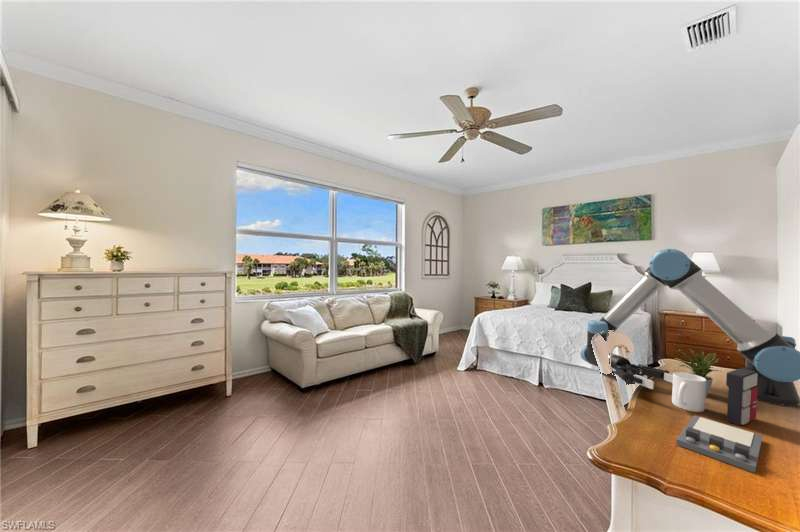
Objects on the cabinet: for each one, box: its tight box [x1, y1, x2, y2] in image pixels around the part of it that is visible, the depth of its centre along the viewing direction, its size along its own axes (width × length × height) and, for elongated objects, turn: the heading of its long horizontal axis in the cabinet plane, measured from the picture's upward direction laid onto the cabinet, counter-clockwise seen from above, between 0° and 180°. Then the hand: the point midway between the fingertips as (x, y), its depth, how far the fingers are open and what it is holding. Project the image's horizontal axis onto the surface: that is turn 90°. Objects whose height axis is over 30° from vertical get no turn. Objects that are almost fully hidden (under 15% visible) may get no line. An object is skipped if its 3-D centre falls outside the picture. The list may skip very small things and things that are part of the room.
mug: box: [671, 371, 707, 413], centre depth 107 cm, size 12×8×10 cm
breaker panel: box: [676, 415, 763, 474], centre depth 87 cm, size 22×14×4 cm, turn 129°
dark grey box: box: [725, 367, 758, 427], centre depth 100 cm, size 11×4×15 cm, turn 117°
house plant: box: [674, 348, 723, 397], centre depth 121 cm, size 14×14×16 cm
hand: (668, 384), depth 112 cm, fingers open, 13 cm apart
